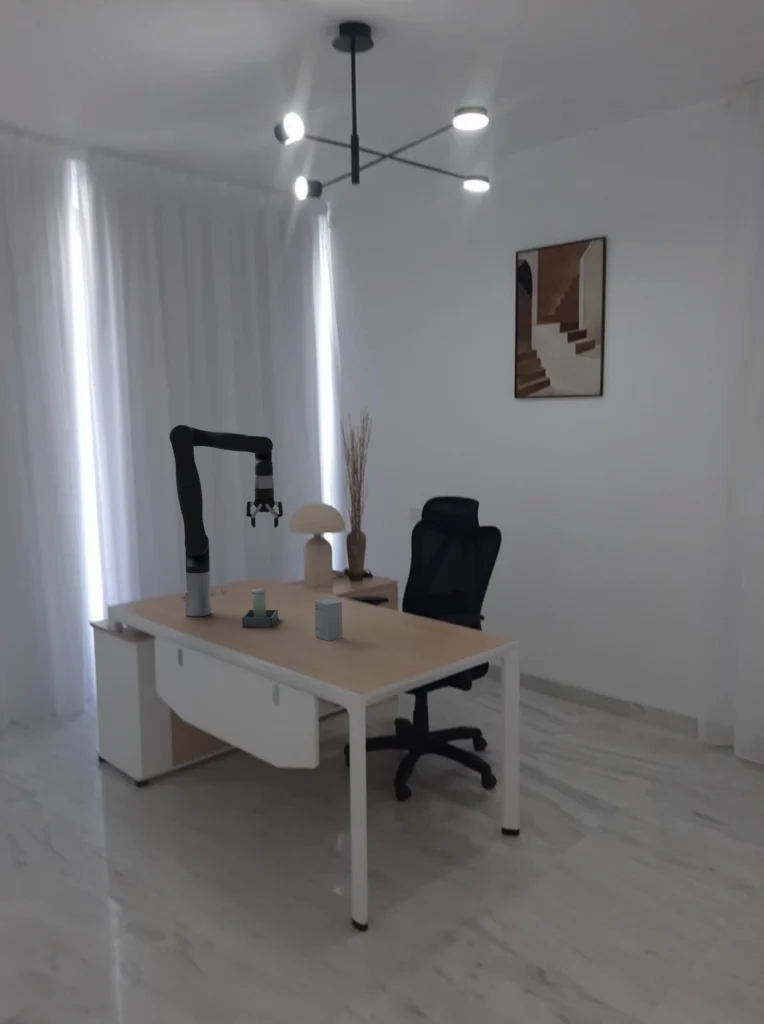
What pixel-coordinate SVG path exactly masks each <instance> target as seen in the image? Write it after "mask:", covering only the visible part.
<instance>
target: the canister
mask: <svg viewBox="0 0 764 1024" xmlns="http://www.w3.org/2000/svg"><path fill="white" fill-rule="evenodd" d="M251 593H252V610H253V613H254V618H267V616H266V610H267V600H266V593H267V592H266V589H265V588H254V589H252V590H251Z"/></svg>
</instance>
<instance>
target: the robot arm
mask: <svg viewBox="0 0 764 1024" xmlns="http://www.w3.org/2000/svg"><path fill="white" fill-rule="evenodd" d="M168 437H169V440H170V444H171V448H172V453H173V458H174V463H175V482H176V483H175V484H176V491H177V492H176V494H177V497H178V498H177V499H178V505H179V508H180V512H181V515H182V520H183V527H184V529H183V530H184V549H185V550H184V551H185V584H186V585H185V586H186V587H185V588H186V591H184V602H185V604H184V605H185V616H186V617H187V616H189V617H205V616H209V615H211V614H212V605H211V604H212V602H211V600H212V599H211V597H212V596H211V574H210V573H211V572H210V570H211V569H210V566H211V565H210V562H211V561H210V560H211V559H210V539H209V537H208V535H207V533H206V530H205V525H204V519H203V517H204V516H203V515H204V514H203V513H204V512H203V511H204V510H203V509H204V507H203V506H204V503H203V502H204V501H203V500H204V499H203V489H202V484H201V478H200V474H199V471H198V468H197V463H196V459H195V448H194V447H207V448H213V449H218V450H224V451H230V452H231V451H232V452H238V453H239V452H241V453H250V454H251V453H252V454H254V460H255V465H254V501H250V500H249V501H247V502H246V512H245V513H246V515H245V516H247V517H248V518H250V520H251V521H250V523H251V524H250V525H251V527H252V528H256V526H257V525H256V524H257V523H256V522H257V521H256V517H257V515H258V513H271V514H272V516H273V517H274V519H273V527H274V529H275V528H277V527H278V526H279V518H281V517H283V516H284V511H283V510H284V509H283V502H282V500H281V501H275V490H274V489H275V488H274V487H275V481H274V469H273V468H274V467H273V460H272V459H273V458H272V455H273V452H272V451H273V448H274V443H273V440H272V439H270V437H267V436H263V435H261V436H260V435H248V434H244V433H237V432H229V431H226V432H225V431H210V430H203V429H199V428H195V427H191V426H189V425H187V424H183V423H180V424H177V425H174V426H173V427H172V428H171V429H170V431H169V434H168ZM253 505H254V507H255V508H256V509H255V510H254V511H253V513H252V512H251V511H252V507H253ZM275 505H276V507H277V508H278V513H277V512H276V510H275V509H274V507H275Z"/></svg>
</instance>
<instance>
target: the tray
mask: <svg viewBox="0 0 764 1024" xmlns="http://www.w3.org/2000/svg"><path fill="white" fill-rule="evenodd" d="M278 613H279V612H278V609H266V616H267V618H254V613H253V609H248V610H247V611H246V613H244V615H243V616H242V617H241V627H242V628H273V627H274V626H275V624H276V623H277V621H278V620H279V617H278V616H279V614H278ZM276 620H277V621H276Z"/></svg>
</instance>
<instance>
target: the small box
mask: <svg viewBox="0 0 764 1024" xmlns="http://www.w3.org/2000/svg"><path fill="white" fill-rule="evenodd" d="M314 620H315V621H314V626H315V627H314V631H315V632H314V633H315V634H314V635H315V636H316V638H319V639H321V640H325V641H326V642H331V641H335V639H336V640H340V639H343V601H340V600H335V599H332V598H324V599H319V600H318V599H317V600H314Z"/></svg>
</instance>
